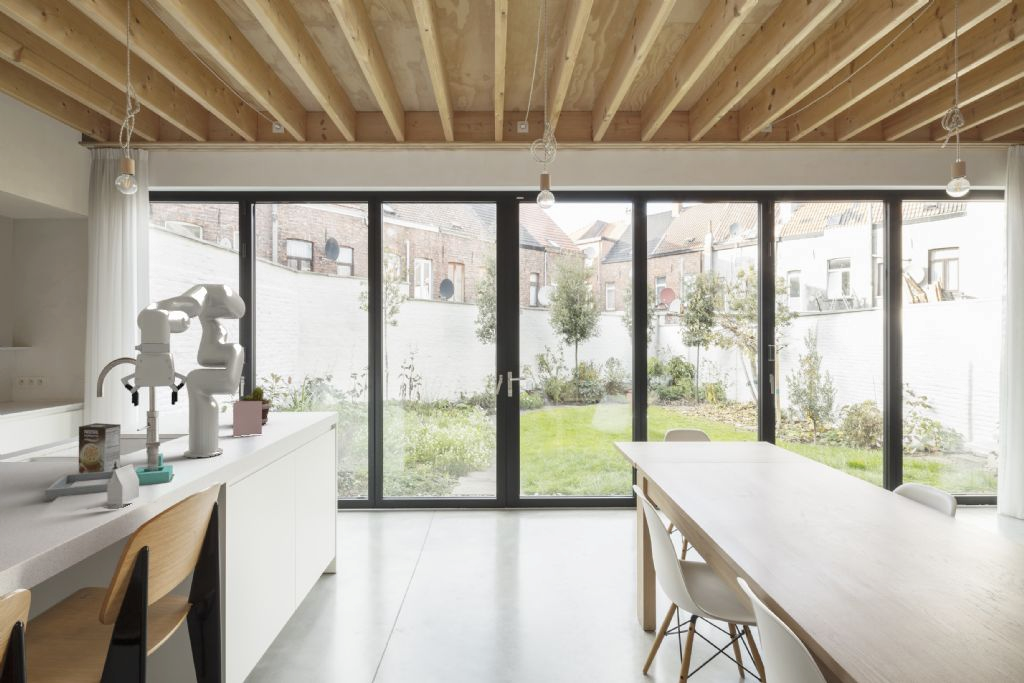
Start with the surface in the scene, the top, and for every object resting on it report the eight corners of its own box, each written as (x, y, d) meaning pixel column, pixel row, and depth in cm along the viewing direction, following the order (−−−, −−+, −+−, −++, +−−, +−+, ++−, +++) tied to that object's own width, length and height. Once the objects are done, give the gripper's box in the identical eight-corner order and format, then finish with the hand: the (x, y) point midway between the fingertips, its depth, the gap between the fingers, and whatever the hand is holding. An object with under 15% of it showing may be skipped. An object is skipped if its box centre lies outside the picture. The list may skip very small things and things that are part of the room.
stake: (135, 481, 165) (135, 440, 165) (174, 477, 169) (174, 438, 169) (129, 490, 156) (129, 446, 156) (170, 486, 160) (170, 444, 160)
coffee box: (76, 478, 167) (76, 426, 167) (94, 473, 174) (94, 423, 173) (104, 479, 166) (104, 427, 166) (121, 474, 173) (121, 423, 173)
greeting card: (262, 434, 241) (262, 400, 241) (255, 438, 234) (255, 403, 234) (236, 434, 241) (236, 400, 241) (228, 437, 234) (228, 402, 233)
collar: (139, 474, 168) (139, 455, 168) (174, 471, 172) (174, 452, 172) (132, 485, 157) (132, 464, 157) (168, 481, 161) (169, 461, 161)
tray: (64, 485, 160) (64, 474, 160) (122, 480, 166) (122, 470, 166) (45, 501, 145) (45, 490, 145) (109, 495, 151) (109, 484, 151)
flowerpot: (232, 424, 266) (233, 383, 266) (265, 421, 277) (265, 381, 276) (242, 428, 256) (242, 385, 255) (276, 425, 266) (276, 384, 266)
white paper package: (138, 501, 147) (139, 463, 146) (122, 509, 140) (122, 470, 140) (124, 501, 146) (124, 463, 146) (107, 509, 140) (107, 470, 139)
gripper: (118, 349, 161) (118, 407, 161) (186, 349, 168) (186, 405, 168) (123, 349, 168) (123, 404, 168) (189, 349, 175) (188, 402, 175)
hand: (155, 405), depth 168 cm, fingers open, 9 cm apart
